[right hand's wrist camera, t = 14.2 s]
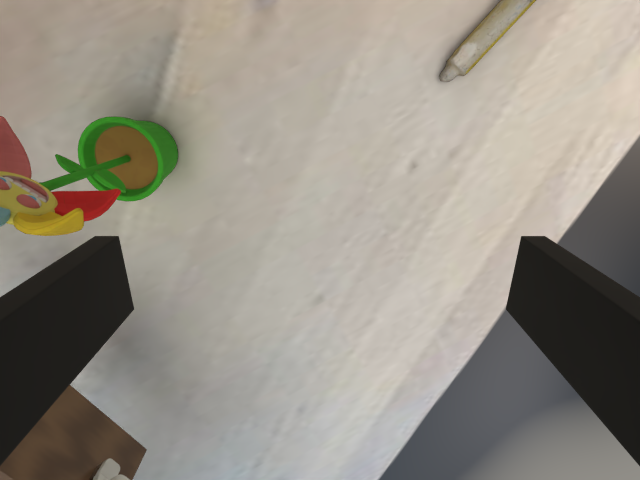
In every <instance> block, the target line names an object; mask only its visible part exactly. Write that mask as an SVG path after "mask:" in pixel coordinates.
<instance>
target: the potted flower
mask: <svg viewBox="0 0 640 480" xmlns="http://www.w3.org/2000/svg"><path fill="white" fill-rule="evenodd" d="M55 157H56V159H57V162H58V164H59V165H60V166H61V167H62V168H63V169H64V170H66V171H68V172H69V173H70V174H67V175H64V176H61V177H58V178H55V179H52V180H49V181H46V182H43V183H38V182H36V181H34V180H32V179H31V167H30V163H29V160H28V157H27V154H26V152H25V150H24V148H23V146H22V144H21V143H20V141H19V139H18V138H17V136H16V135H15V133H14V132H13V131H12V129H11V127H10V126H9V124H8V122H7V121H6V119H5V118H4V117H2V116H0V226H2V225H4V224H5V223H8V224H12V225H14V226H15V227H16V229H18V230H20V231H21V232H23V233H25V234H32V235H42V236H54V235H63V234H69V233H73V232H76V231H79V230H81V229H82V228H83V226H84V221H89V220H92V219H94V218H96V217H99V216H101V215H102V214H103V213H104V212H106V211H107V210H108V209H109V208H110V207H111V205H112V204H113V203H114V202H115V200H116V199H117V200H121V201H136V200H141V199H143V198H145V197H147V196H149V195H150V194H152V193H153V192H154V191H155V190H156V189H157V188H158V187H159V186H160V184H161V183H162V181H163V179H164V178H165V177H167V176H168V175H169V174H170V173H171V172H172V170H173V169H174V168H175V166H176V163H177V159H178V151H177V146H176V143H175V141H174V139H173V138H172V136H171V135H170V134H169V132H168V131H167V130H165V129H164V128H163V127H161V126H160V125H158V124H156V123H153V122H148V121H137V120H132V119H130V118H124V117H105V118H101V119H98V120H96V121H94V122H92V123H91V124H90V125H89V126H88V127H87V128H86V129H85V130H84V132H83V133H82V135H81V137H80V140H79V145H78V158H79V162H80V165H78V164H77V163H75V162H73V161H71V160H69V159H67V158H65V157H62V156H60V155H58V154H56V155H55ZM86 177H87V179H88V180H89V182H90V183H91V184H92V185H93V186H94V187H95V188H96V189H98V190H99V191H56V192H50V191H51V190H54V189H56V188H59V187H62V186H65V185H67V184H70V183H73V182H75V181H78V180H81V179H84V178H86Z"/></svg>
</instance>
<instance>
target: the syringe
mask: <svg viewBox="0 0 640 480" xmlns="http://www.w3.org/2000/svg"><path fill="white" fill-rule="evenodd" d="M535 1H536V0H501V1H500V2H499V3H498V4H497V5H496V7H495V8H494V9H493V10H492V11H491V12H490V13H489V14H488V16H487V17H486V18H485V19H484V20H483V21H482V22H481V23H480V24H479V25H478V26H477V27H476V29H475V30H474V31H473V32H472V33H471V34H470V35H469V36H468V37H467V38H466V40H465V41H463V42H462V44H461V45H460V46H459V47H458V48H457V49H456V50H455V51H454V53H453V54H452V56H451V57H450V59H448V60H447V63H446V66H445V68H444V70H443V71H442V72H441V74H440V75H439V78H440V81H442V82H449V81H451V80H453V79H454V78H455V77H456V76H464V75H466V74H467V73H468V72H469V71H470V70H471V69H472V68H473V67H474V66H475V65H476V64H477V62H478V61H479V60H480V59H481V58H482V57H483V56H484V55H485V54H486V53H487V52H488V51H489V50H490V49H491V48H492V47H493V45H494V44H495V43H496V42H497V41H498V40H499V39H500V38H501V37H502V36H503V35H504V34H505V32H506V31H507V30H508V29H509V28H510V27H511V26H512V25H513V24H514V23H515V22H516V21H517V20H518V19H519V18H520V17H521V16H522V15H523V14H524V13H525V11H526V10H527V9H528V8H529V7H530V6H531V5H532V4H533V3H534V2H535Z"/></svg>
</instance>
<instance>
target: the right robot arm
mask: <svg viewBox="0 0 640 480" xmlns="http://www.w3.org/2000/svg"><path fill="white" fill-rule="evenodd" d="M133 310H134V306H133V302H132V297H131V292H130V288H129V283H128V278H127V273H126V269H125V264H124V259H123V255H122V250H121V245H120V241H119V236H95V237H93V238H92V239H90V240H88V241H87V242H85V243H84V244H82V245H81V246H79V247H78V248H76V249H75V250H73V251H71V252H70V253H68V254H67V255H65V256H64V257H62V258H61V259H59V260H57V261H56V262H54V263H53V264H51V265H50V266H48V267H47V268H45V269H44V270H42V271H40V272H39V273H37V274H36V275H34V276H33V277H31V278H30V279H28V280H26V281H25V282H23V283H22V284H20V285H19V286H17V287H16V288H14V289H12V290H11V291H9V292H8V293H6V294H5V295H3V296H2V297H0V466H1V465H2V463H3V462H4V461H5V460H6V459H7V457H8V456H9V455H10V454H11V453H12V452H13V450H14V449H15V448H16V447H17V446H18V445H19V443H20V442H21V441H22V440H23V439H24V438H25V436H26V435H27V434H28V433H29V432H30V431H31V429H32V428H33V427H34V426H35V425H36V424H37V422H38V421H39V420H40V419H41V418H42V416H43V415H44V414H45V413H46V412H47V411H48V409H49V408H50V407H51V406H52V405H53V404H54V402H55V401H56V400H57V399H58V398H59V397H60V395H61V394H62V393H63V392H64V391H65V390H66V388H67V387H68V386H69V385H70V384H71V382H72V381H73V380H74V379H75V378H76V377H77V375H78V374H79V373H80V372H81V371H82V370H83V368H84V367H85V366H86V365H87V364H88V363H89V361H90V360H91V359H92V358H93V357H94V356H95V354H96V353H97V352H98V351H99V350H100V348H101V347H102V346H103V345H104V344H105V343H106V341H107V340H108V339H109V338H110V337H111V336H112V334H113V333H114V332H115V331H116V330H117V329H118V327H119V326H120V325H121V324H122V323H123V322H124V320H125V319H126V318H127V317H128V316H129V315H130V313H131V312H132V311H133ZM506 310H507V311H508V312H509V313H510V315H511V316H512V317H513V318H514V319H515V320H516V322H517V323H518V324H519V325H520V326H521V327H522V329H523V330H524V331H525V332H526V333H527V334H528V336H529V337H530V338H531V339H532V340H533V341H534V343H535V344H536V345H537V346H538V347H539V348H540V350H541V351H542V352H543V353H544V354H545V356H546V357H547V358H548V359H549V360H550V361H551V363H552V364H553V365H554V366H555V367H556V368H557V369H558V371H559V372H560V373H561V374H562V375H563V377H564V378H565V379H566V380H567V381H568V382H569V384H570V385H571V386H572V387H573V388H574V389H575V391H576V392H577V393H578V394H579V395H580V397H581V398H582V399H583V400H584V401H585V402H586V404H587V405H588V406H589V407H590V408H591V409H592V411H593V412H594V413H595V414H596V415H597V416H598V418H599V419H600V420H601V421H602V422H603V424H604V425H605V426H606V427H607V428H608V429H609V431H610V432H611V433H612V434H613V435H614V436H615V437H616V439H617V440H618V441H619V442H620V443H621V445H622V446H623V447H624V448H625V449H626V450H627V452H628V453H629V454H630V455H631V456H632V457H633V459H634V460H635V461H636V462H637V463H638V465H639V466H640V297H638V296H637V295H635V294H634V293H632V292H631V291H629V290H627V289H626V288H624V287H623V286H621V285H620V284H618V283H617V282H615V281H614V280H612V279H610V278H609V277H607V276H606V275H604V274H603V273H601V272H600V271H598V270H596V269H595V268H593V267H592V266H590V265H589V264H587V263H586V262H584V261H583V260H581V259H579V258H578V257H576V256H575V255H573V254H572V253H570V252H569V251H567V250H565V249H564V248H562V247H561V246H559V245H558V244H556V243H555V242H553V241H552V240H550V239H548V238H547V237H545V236H521V241H520V245H519V250H518V255H517V259H516V264H515V269H514V273H513V278H512V283H511V288H510V292H509V297H508V302H507V306H506Z"/></svg>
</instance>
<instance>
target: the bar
mask: <svg viewBox="0 0 640 480" xmlns="http://www.w3.org/2000/svg"><path fill="white" fill-rule="evenodd" d="M145 452H146V449H145V448H144V447H143V446H142V445H141V444H139V443H138V442H137V441H136V440H135V439H134V438H132V437H131V436H130V435H129V434H128V433H126V432H125V431H124V430H123V429H122V428H120V427H119V426H118V425H117V424H116V423H115V422H113V421H112V420H111V419H110V418H109V417H107V416H106V415H105V414H104V413H103V412H101V411H100V410H99V409H98V408H97V407H96V406H94V405H93V404H92V403H91V402H90V401H88V400H87V399H86V398H85V397H84V396H82V395H81V394H80V393H79V392H78V391H77V390H75V389H74V388H73V387H72V386H71V385H69V386H68V387H67V388H66V390H65V391H64V392H63V393H62V394H61V395H60V397H59V398H58V399H57V400H56V401H55V402H54V404H53V405H52V406H51V407H50V408H49V409H48V411H47V412H46V413H45V414H44V415H43V416H42V418H41V419H40V420H39V421H38V422H37V424H36V425H35V426H34V427H33V428H32V429H31V431H30V432H29V433H28V434H27V435H26V436H25V438H24V439H23V440H22V441H21V442H20V443H19V445H18V446H17V447H16V448H15V449H14V450H13V452H12V453H11V454H10V455H9V456H8V457H7V459H6V460H5V461H4V462H3V463H2V465H1V466H0V480H90V479H89V478H90V477H91V475H92V473H93V472H94V471H95V468H96V467H97V465H99V464H101V463H102V462H104V461H105V460H107V459H109V458H111V459H113V460H114V461H115V462H116V463H118V464H119V465H120V471H119V473H118V475H124V476H126V477H127V478H129V479H130V480H132V479H133V477H134V475H135V473H136V471H137V469H138V467H139V465H140V463H141V461H142V459H143V456H144V454H145Z"/></svg>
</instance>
